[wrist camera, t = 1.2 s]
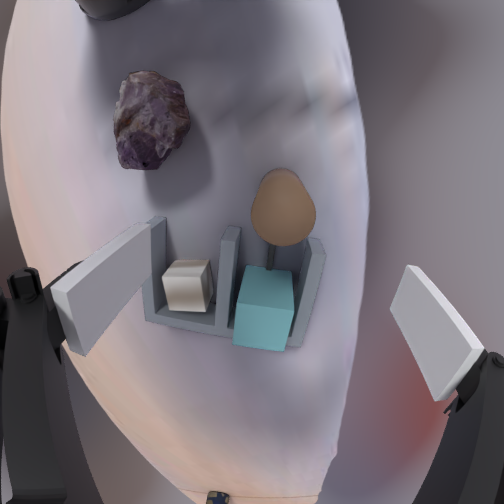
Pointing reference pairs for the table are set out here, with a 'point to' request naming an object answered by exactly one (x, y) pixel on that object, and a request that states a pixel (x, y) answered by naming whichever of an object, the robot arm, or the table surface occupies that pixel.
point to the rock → (149, 120)
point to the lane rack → (226, 288)
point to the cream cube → (188, 285)
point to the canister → (217, 498)
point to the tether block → (267, 279)
